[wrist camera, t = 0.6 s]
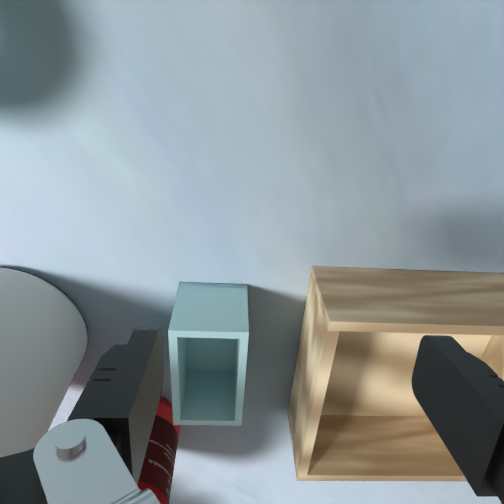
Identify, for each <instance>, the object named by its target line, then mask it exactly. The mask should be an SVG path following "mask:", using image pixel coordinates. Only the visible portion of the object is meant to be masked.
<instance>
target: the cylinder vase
mask: <svg viewBox="0 0 504 504" xmlns="http://www.w3.org/2000/svg"><path fill="white" fill-rule="evenodd" d="M86 348H87V330H86V326H85V323H84V320H83V318H82V316H81V314H80V313H79V311H78V309H77V308H76V307H75V305H74V304H73V303H72V302H71V301H70V299H69V298H68V297H67V296H65V295H64V294H63V293H62V292H61V291H60V290H58V289H57V288H55V287H54V286H53V285H51V284H49V283H48V282H46V281H44V280H42V279H40V278H38V277H36V276H33V275H31V274H28V273H25V272H22V271H18V270H13V269H8V268H0V457H4V456H8V455H12V454H16V453H20V452H24V451H27V450H30V449H33V448H35V447H36V445H37V443H38V441H39V440H40V439H41V438H42V437H43V436H44V435H45V434H46V433H47V431H48V429H49V427H50V425H51V423H52V421H53V419H54V417H55V415H56V413H57V411H58V409H59V406H60V404H61V402H62V400H63V398H64V396H65V394H66V392H67V390H68V388H69V386H70V384H71V382H72V380H73V378H74V376H75V373H76V371H77V369H78V367H79V365H80V363H81V361H82V359H83V357H84V355H85V352H86Z"/></svg>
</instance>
